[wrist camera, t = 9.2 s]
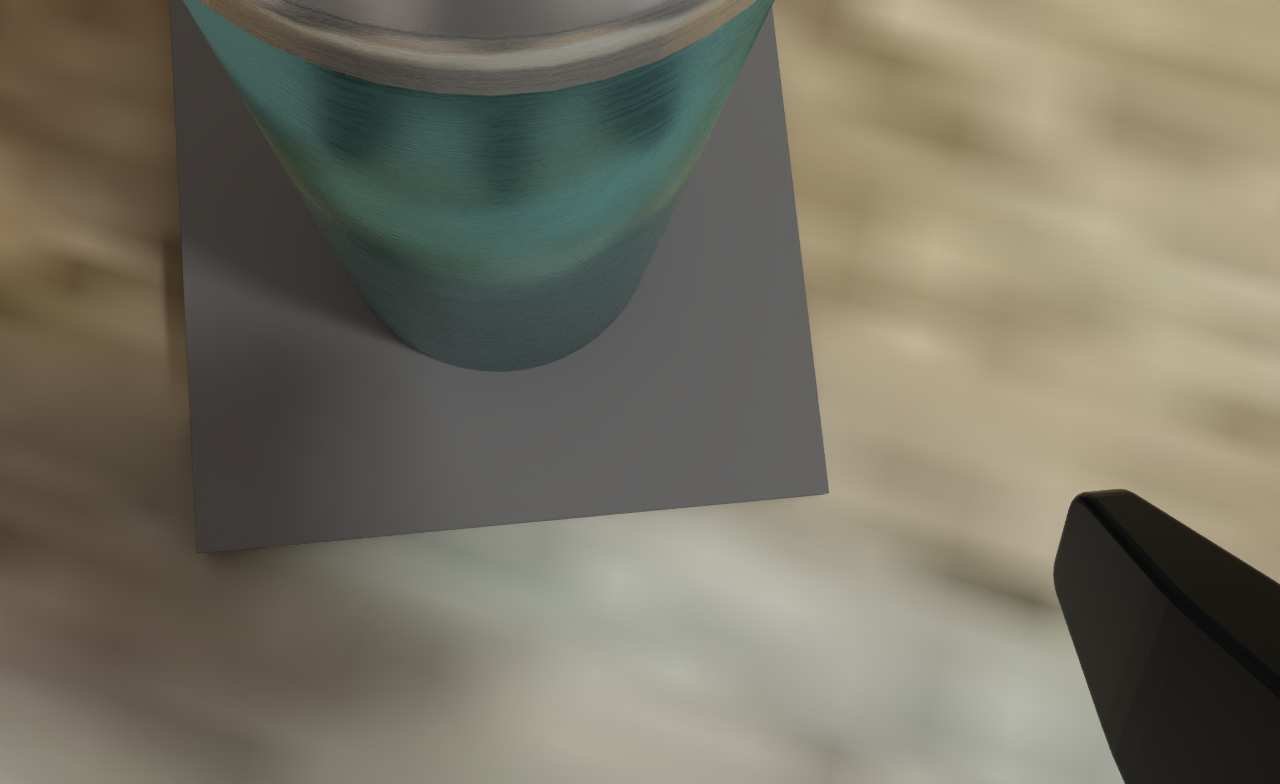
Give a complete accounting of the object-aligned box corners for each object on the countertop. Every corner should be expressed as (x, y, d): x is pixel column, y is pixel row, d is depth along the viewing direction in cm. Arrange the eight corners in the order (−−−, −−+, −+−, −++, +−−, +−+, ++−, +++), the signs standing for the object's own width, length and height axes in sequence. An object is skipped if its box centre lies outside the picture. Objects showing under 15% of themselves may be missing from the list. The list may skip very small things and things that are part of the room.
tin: (647, 392, 18) (912, 84, 6) (314, 363, 17) (-104, -27, 6) (670, 79, 19) (948, -751, 7) (349, 43, 18) (39, -911, 6)
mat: (822, 494, 18) (829, 493, 18) (204, 553, 17) (196, 552, 17) (756, -69, 19) (761, -82, 19) (174, -44, 19) (166, -56, 18)
